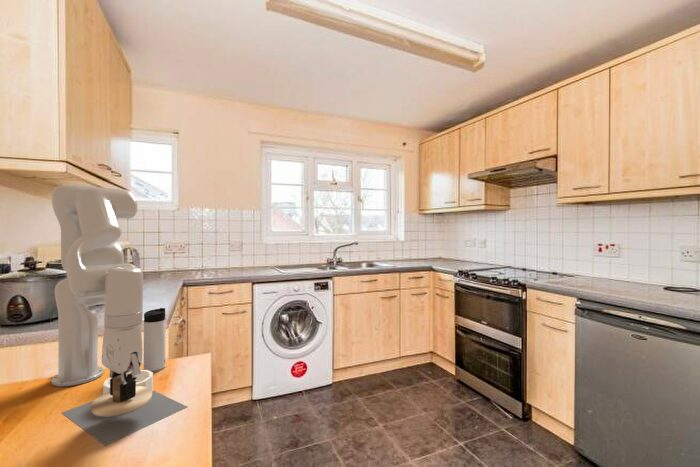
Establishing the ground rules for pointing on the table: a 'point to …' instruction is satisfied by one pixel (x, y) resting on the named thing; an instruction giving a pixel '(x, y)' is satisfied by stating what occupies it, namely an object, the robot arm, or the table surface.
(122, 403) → the lid
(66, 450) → the table surface
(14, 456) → the table surface
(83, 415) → the mat
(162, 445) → the table surface
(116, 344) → the robot arm
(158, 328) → the travel mug
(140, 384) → the bowl
